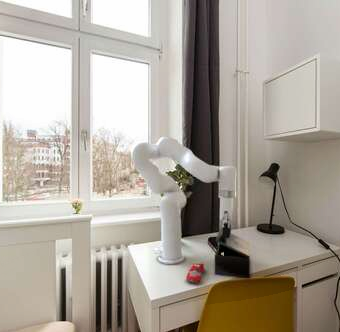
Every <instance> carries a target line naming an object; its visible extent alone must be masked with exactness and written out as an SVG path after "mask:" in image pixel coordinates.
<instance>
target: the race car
mask: <svg viewBox="0 0 340 332" xmlns="http://www.w3.org/2000/svg"><path fill="white" fill-rule="evenodd" d="M205 267H206V266H205V264H204V263H203V262H194V263H193V264H192V265H191V267H190V268H189V269H188V273H187V275H186V279H185V280H186V282H187V283H190V284H199V283H201V280H202V278H203V275H204V274H205V271H206V270H205V269H206V268H205Z"/></svg>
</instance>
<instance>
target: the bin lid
mask: <svg viewBox="0 0 340 332" xmlns="http://www.w3.org/2000/svg"><path fill="white" fill-rule="evenodd" d="M214 242H216V243H218V244H219V243H220V244H222V245H224V246H226V247H228V248H230V249H232V250H234V251H236V252H238V253H240V254H242V255H244V256H246V257H248V258H250V256H251V254H250V242H249V241H248V240H246V239H244V238H242V237H240V236H238V235H236V234H233V233H232V232H231V233H230V238H226V237H222V227H220V228H219V230H218V232H217V235H216V238H215V241H214Z"/></svg>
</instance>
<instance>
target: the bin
mask: <svg viewBox="0 0 340 332" xmlns="http://www.w3.org/2000/svg"><path fill="white" fill-rule="evenodd" d="M221 252H224V256H223V255H221ZM250 259H251V258H250V257H249V258H248V257H246V256H244V255H242V254H240V253H238V252H236V251H234V250H232V249H230V248H228V247H226V246H224V245H222V244H220V243H218V244H217V248H216V250H215V254H214V275H217V276H224V277H234V278H242V279H251V271H250V270H251V267H250V266H251V264H250Z"/></svg>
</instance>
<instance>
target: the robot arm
mask: <svg viewBox="0 0 340 332" xmlns="http://www.w3.org/2000/svg"><path fill="white" fill-rule="evenodd" d="M130 156H131V157H130V158H131V159H130V160H131V162H132V164H133V166H134V168H135V170H136V171H137V172H138V173H139V175H140V176H141V178H142V179H143V181H144V182H145V183H146V185H147V186H148V188H149V189H150V191H151V192H152V193H153V194H154V195H162V194H163V195H162V196H161V197H160V200H159V203H158V204H159V205H158V207H159V212H160V225H161V226H160V227H161V228H160V231H161V232H160V236H161V237H160V239H161V241H160V243H161V245H160V246H161V247H160V248H157V247H154V248H153V254H155V255H158V262H160V263H162V264H165V265H176V264H179V263H182V262H183V261H185V259H186V258H185V257H186V256H185V254H184V253H182V218H181V212H180V210H182V209H183V208H184V207H185V206H186V204H187V197H186V195H185V193H184V192H183V190H182V189H181V187H180V186H179V184H178V183H177V182H176V181H175V179H174V178H173V177H172V176H170V175H169V174H162V173H161V172H160V170H159V169H158V167H157V166H156V165H155V164H154V163H153V162H152V160H154V161H155V160H159V159H163V158H169V159H170V160H172V161H173V162H175V163H177V164H178V165H179V166H181V167H182V168H183V169H184V170H185V171H186V172H188V173H189V174H190V175H192V176H193V177H195V178H196V179H198V180H199V181H201V182H203V183H206V184H210V183H213V182H218V198H220V203H219V204H220V205H219V221H220V222H222V227H221V229H222V237H226V238H230V233H232V226H231V225H232V224H231V221H232V219H233V212H234V199H236V198H237V168H236V167H235V166H233V165H230V166H229V165H223V166H222V165H221V166H219V165H211V164H208V163H206V162H205V161H204V160H201V159H200V158H198V157H197V156H196V155H195V154H194V153H193V151H192V150H191V149H190V148H188V147H186V146H184V145H183V144H181V143H180V142H179V141H178V140H177V139H175V138H173V137H170V136H163V137H160V138H159V139H158V141H157V142H156V143H151V142H148V141H139V142H136V143H135V144H134V145H133V147H132V148H131V154H130Z"/></svg>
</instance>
